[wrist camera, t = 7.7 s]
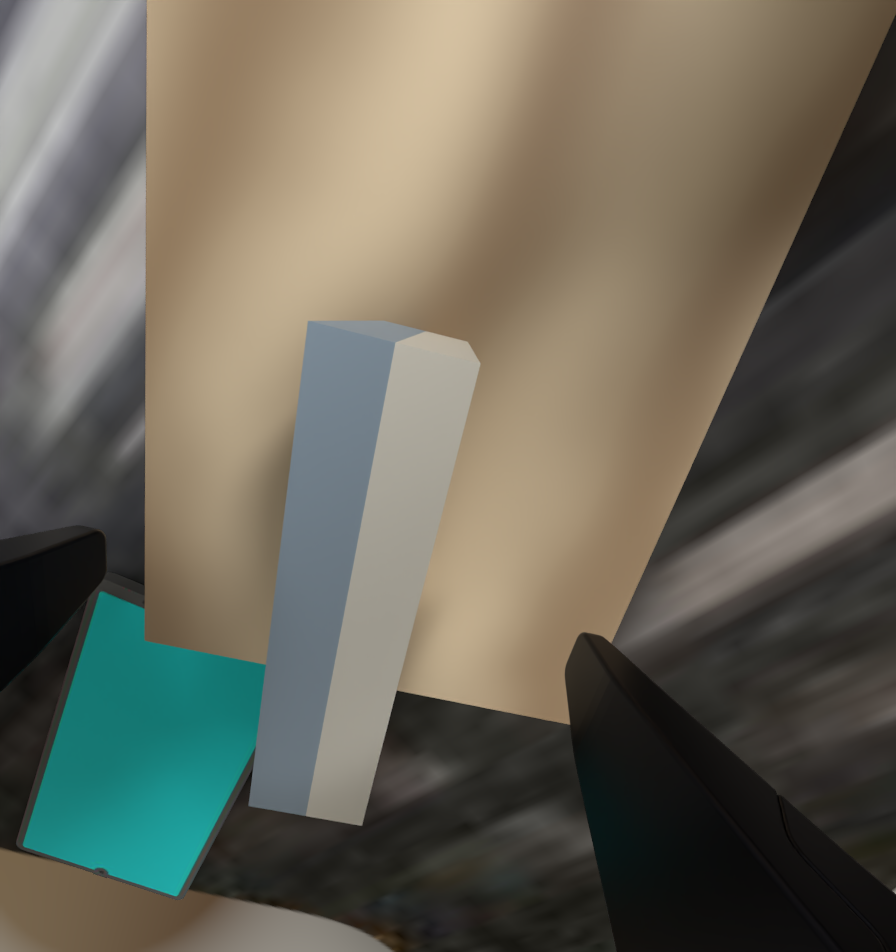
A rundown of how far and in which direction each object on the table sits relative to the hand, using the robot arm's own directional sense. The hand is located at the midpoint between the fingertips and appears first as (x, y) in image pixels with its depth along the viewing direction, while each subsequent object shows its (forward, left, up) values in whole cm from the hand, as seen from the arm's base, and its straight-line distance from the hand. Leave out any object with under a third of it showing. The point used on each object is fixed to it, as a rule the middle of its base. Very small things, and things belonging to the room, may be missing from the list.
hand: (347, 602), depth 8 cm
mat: (-1, -4, -5) cm, 7 cm away
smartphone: (+7, +13, -6) cm, 16 cm away
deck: (0, 0, -5) cm, 5 cm away
